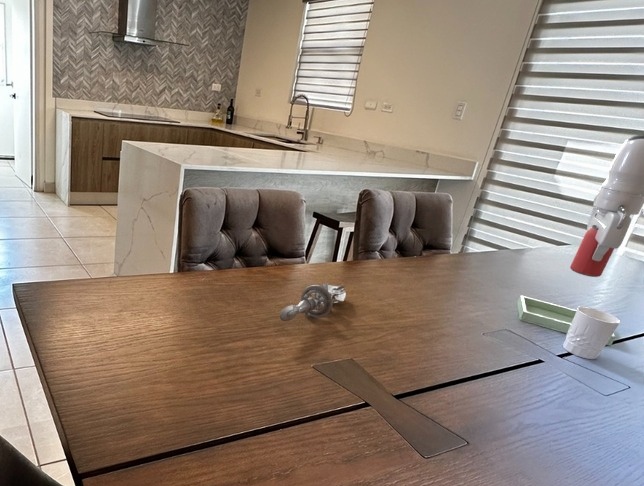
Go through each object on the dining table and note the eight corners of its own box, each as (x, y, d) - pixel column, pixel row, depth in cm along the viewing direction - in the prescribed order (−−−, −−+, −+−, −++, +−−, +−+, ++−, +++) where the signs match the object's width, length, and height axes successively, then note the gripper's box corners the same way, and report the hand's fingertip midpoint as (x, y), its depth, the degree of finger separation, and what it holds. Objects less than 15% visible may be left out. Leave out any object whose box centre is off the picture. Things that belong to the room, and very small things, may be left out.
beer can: (576, 274, 119) (597, 229, 114) (564, 266, 125) (584, 222, 120) (605, 279, 118) (628, 234, 113) (592, 270, 124) (613, 227, 119)
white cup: (596, 350, 113) (616, 314, 109) (603, 365, 107) (623, 326, 103) (557, 339, 116) (575, 303, 113) (561, 352, 110) (580, 315, 106)
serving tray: (600, 325, 128) (604, 317, 126) (610, 346, 116) (615, 337, 115) (517, 303, 136) (520, 295, 135) (519, 320, 125) (523, 311, 124)
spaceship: (262, 298, 100) (296, 297, 95) (327, 275, 127) (356, 274, 122) (266, 335, 100) (300, 336, 95) (330, 304, 127) (359, 304, 122)
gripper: (646, 213, 104) (617, 270, 110) (624, 199, 121) (600, 250, 126) (611, 206, 107) (584, 263, 112) (594, 194, 124) (572, 243, 129)
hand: (592, 256), depth 119 cm, fingers closed on beer can, 6 cm apart
